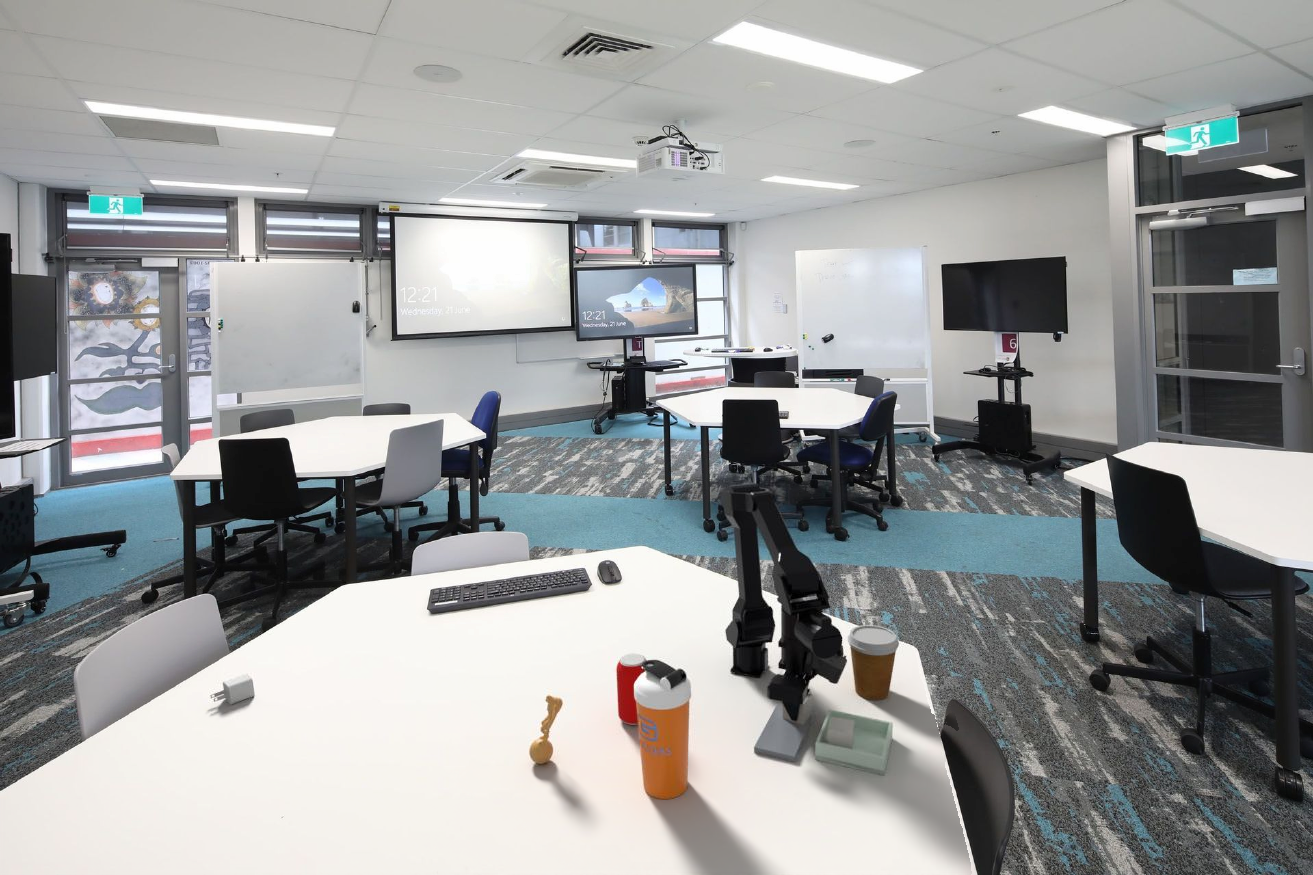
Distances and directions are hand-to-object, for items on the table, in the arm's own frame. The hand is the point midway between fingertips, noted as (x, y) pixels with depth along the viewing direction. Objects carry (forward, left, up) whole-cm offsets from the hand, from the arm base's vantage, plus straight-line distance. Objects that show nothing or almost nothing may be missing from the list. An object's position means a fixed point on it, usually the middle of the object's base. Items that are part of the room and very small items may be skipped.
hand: (797, 713), depth 129 cm
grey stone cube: (0, 0, 0) cm, 0 cm away
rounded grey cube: (+9, -6, -1) cm, 11 cm away
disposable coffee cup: (+11, +15, -2) cm, 19 cm away
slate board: (-1, -5, -2) cm, 5 cm away
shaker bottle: (-15, -26, -2) cm, 30 cm away
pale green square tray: (+11, -5, -2) cm, 12 cm away
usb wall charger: (-107, -35, -2) cm, 112 cm away
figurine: (-36, -28, -2) cm, 45 cm away
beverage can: (-28, -11, -2) cm, 30 cm away
